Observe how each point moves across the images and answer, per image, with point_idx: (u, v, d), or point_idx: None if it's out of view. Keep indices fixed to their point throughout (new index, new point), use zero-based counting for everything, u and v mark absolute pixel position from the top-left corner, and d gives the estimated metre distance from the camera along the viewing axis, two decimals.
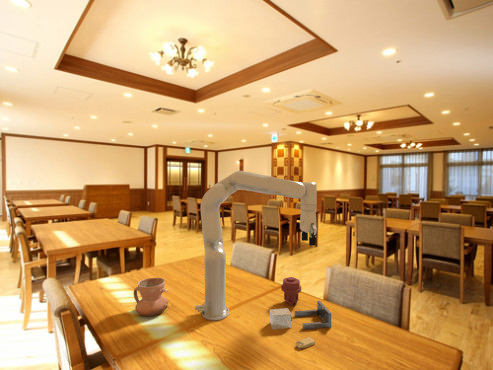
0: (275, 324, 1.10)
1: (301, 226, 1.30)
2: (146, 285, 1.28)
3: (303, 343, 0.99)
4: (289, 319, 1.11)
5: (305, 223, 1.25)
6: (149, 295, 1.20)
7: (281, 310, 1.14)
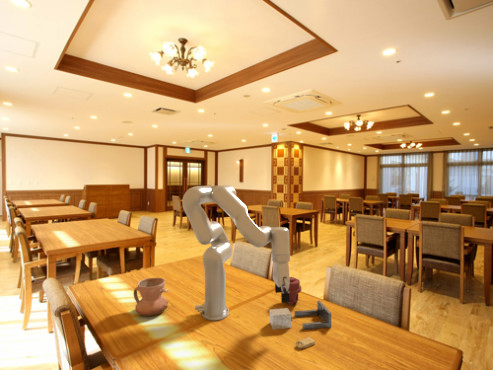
0: (275, 324, 1.10)
1: (273, 277, 1.14)
2: (146, 285, 1.28)
3: (303, 343, 0.99)
4: (289, 319, 1.11)
5: (277, 276, 1.09)
6: (149, 295, 1.20)
7: (281, 310, 1.14)
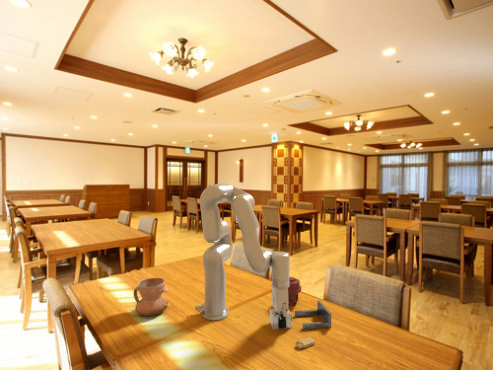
0: (275, 324, 1.10)
1: (272, 302, 1.14)
2: (146, 285, 1.28)
3: (303, 343, 0.99)
4: (289, 319, 1.11)
5: (276, 302, 1.09)
6: (149, 295, 1.20)
7: (281, 310, 1.14)
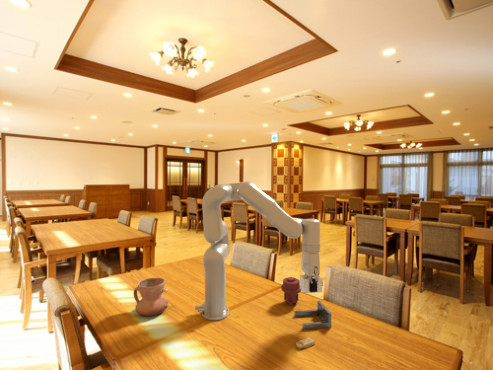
0: (306, 288, 1.13)
1: (303, 267, 1.17)
2: (146, 285, 1.28)
3: (303, 343, 0.99)
4: (320, 283, 1.13)
5: (307, 266, 1.12)
6: (149, 295, 1.20)
7: None
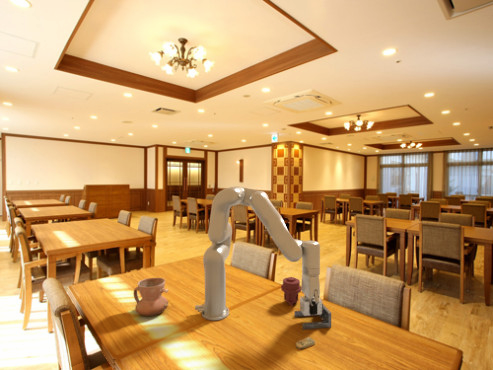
0: (306, 310, 1.13)
1: (303, 289, 1.17)
2: (146, 285, 1.28)
3: (303, 343, 0.99)
4: (320, 305, 1.14)
5: (307, 289, 1.12)
6: (149, 295, 1.20)
7: None
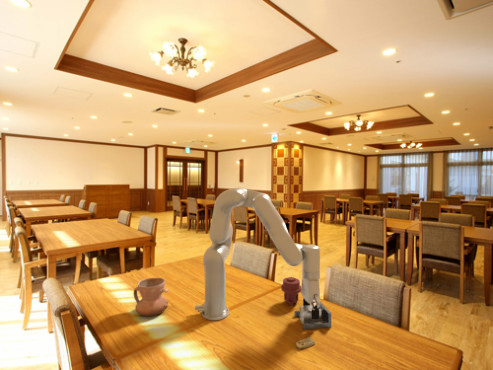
0: (306, 320, 1.13)
1: (303, 293, 1.17)
2: (146, 285, 1.28)
3: (303, 343, 0.99)
4: (319, 315, 1.14)
5: (307, 293, 1.12)
6: (149, 295, 1.20)
7: (311, 306, 1.17)
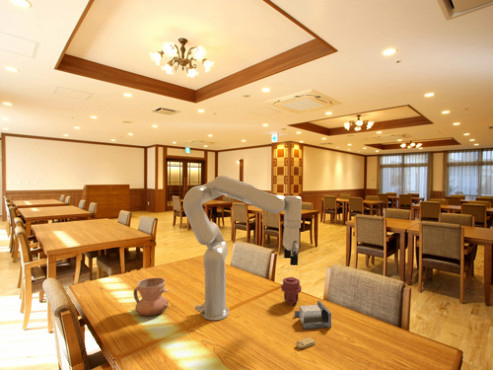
0: (305, 320, 1.13)
1: (284, 243, 1.21)
2: (146, 285, 1.28)
3: (303, 343, 0.99)
4: (319, 315, 1.14)
5: (287, 240, 1.16)
6: (149, 295, 1.20)
7: (311, 306, 1.17)
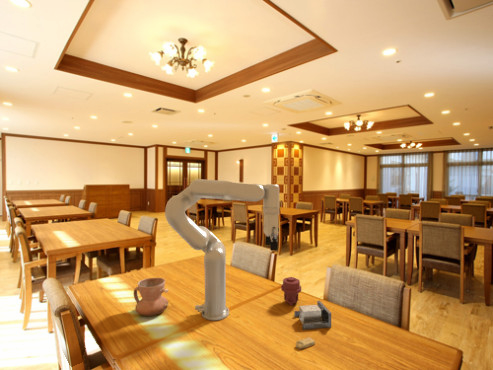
0: (305, 320, 1.13)
1: (264, 230, 1.25)
2: (146, 285, 1.28)
3: (303, 343, 0.99)
4: (319, 315, 1.14)
5: (267, 227, 1.20)
6: (149, 295, 1.20)
7: (311, 306, 1.17)
